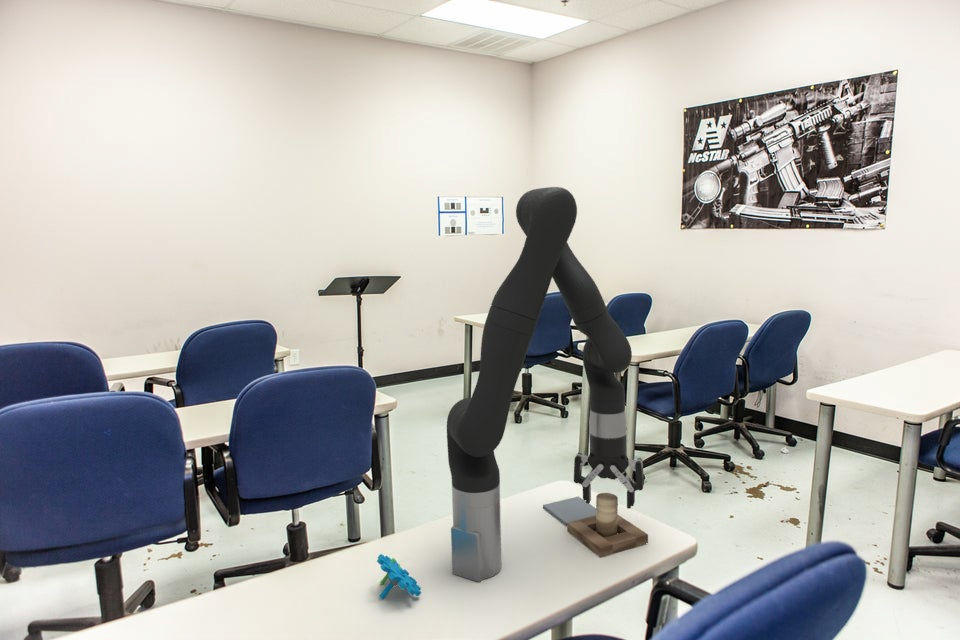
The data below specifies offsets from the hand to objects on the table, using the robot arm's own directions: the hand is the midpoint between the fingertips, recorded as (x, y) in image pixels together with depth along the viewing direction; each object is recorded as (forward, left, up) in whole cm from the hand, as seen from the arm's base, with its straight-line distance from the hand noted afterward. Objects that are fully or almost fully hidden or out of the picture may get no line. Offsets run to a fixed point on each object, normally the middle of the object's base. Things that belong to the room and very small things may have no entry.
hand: (608, 504), depth 126 cm
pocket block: (0, 0, -7) cm, 7 cm away
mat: (+7, +11, -7) cm, 15 cm away
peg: (0, 0, -7) cm, 7 cm away
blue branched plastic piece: (-37, +27, -8) cm, 47 cm away
